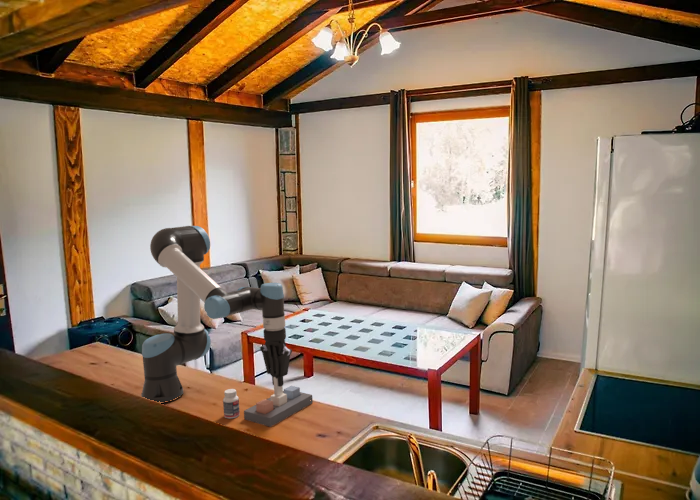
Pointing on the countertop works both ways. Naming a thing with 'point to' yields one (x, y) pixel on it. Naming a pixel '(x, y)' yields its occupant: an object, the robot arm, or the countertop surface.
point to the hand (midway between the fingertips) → (278, 394)
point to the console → (278, 410)
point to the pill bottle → (231, 404)
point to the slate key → (292, 392)
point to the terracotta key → (264, 406)
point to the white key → (279, 399)
